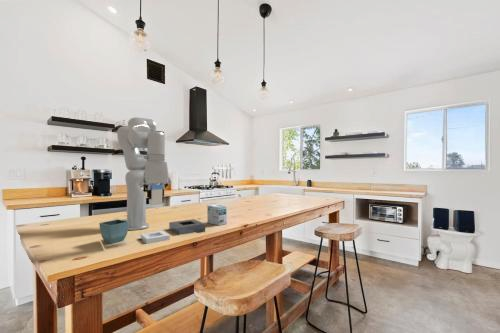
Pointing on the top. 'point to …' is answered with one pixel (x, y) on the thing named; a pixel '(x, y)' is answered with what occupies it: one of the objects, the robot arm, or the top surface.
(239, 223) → the top surface
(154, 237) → the grey base plate
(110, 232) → the flower pot
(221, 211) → the light bulb box
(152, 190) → the plug
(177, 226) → the port block
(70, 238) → the top surface
